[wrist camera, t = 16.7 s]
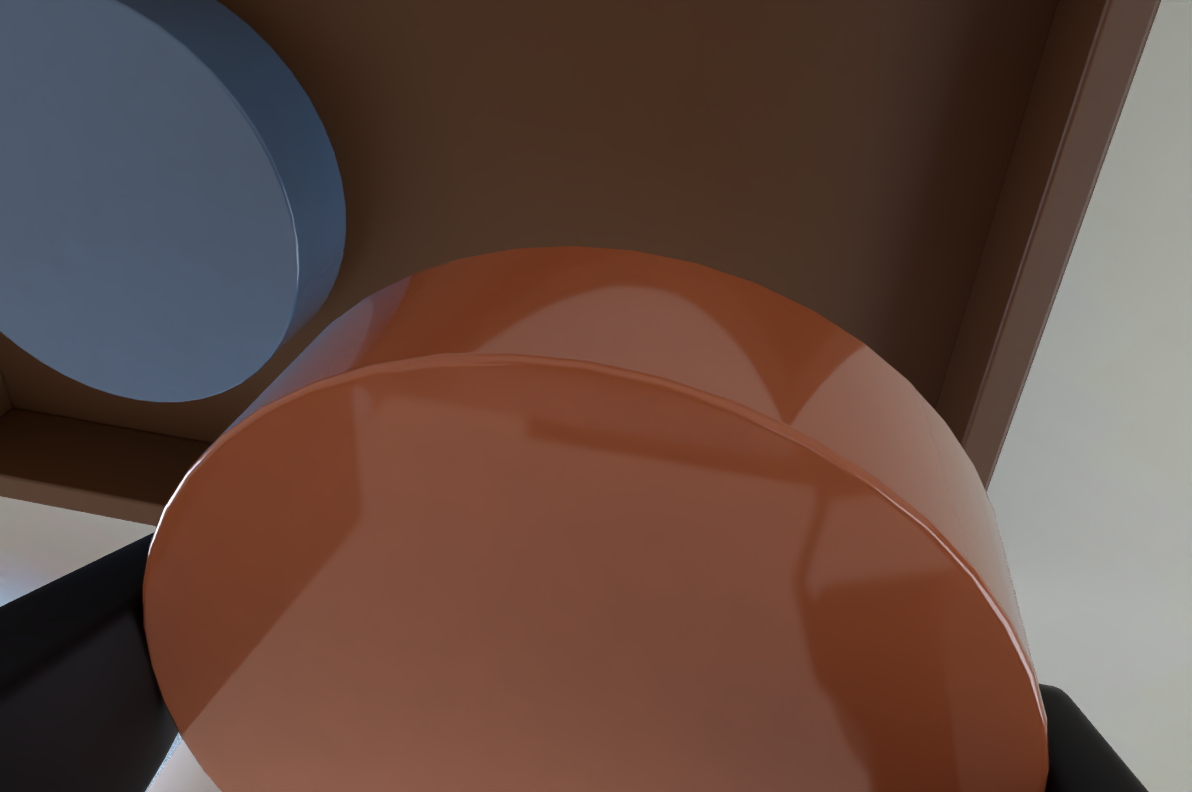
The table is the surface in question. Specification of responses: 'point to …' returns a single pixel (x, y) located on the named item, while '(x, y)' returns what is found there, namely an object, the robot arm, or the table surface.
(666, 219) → the tray
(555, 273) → the puck terracotta
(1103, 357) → the table surface
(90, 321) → the blue puck
